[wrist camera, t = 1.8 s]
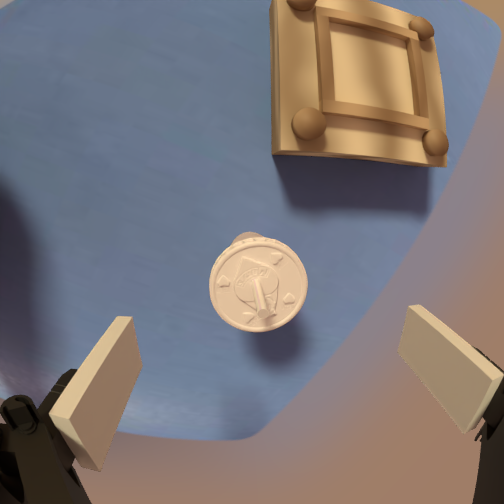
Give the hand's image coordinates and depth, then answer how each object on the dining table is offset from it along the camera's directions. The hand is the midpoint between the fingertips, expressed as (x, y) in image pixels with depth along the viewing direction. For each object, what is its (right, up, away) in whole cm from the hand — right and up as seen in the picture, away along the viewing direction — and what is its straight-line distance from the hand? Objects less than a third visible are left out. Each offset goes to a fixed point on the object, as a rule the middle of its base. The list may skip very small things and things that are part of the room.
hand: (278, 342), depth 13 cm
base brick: (+9, +21, +11) cm, 25 cm away
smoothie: (-1, +4, +15) cm, 16 cm away
